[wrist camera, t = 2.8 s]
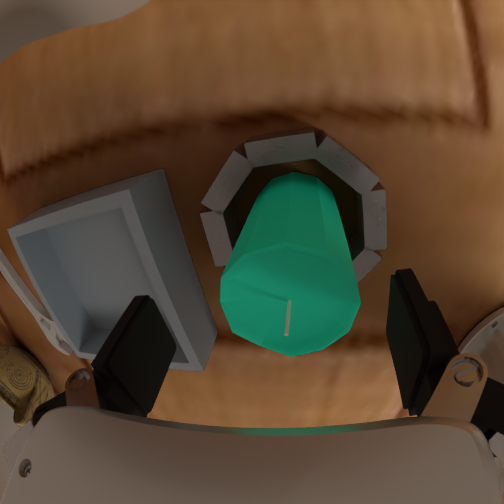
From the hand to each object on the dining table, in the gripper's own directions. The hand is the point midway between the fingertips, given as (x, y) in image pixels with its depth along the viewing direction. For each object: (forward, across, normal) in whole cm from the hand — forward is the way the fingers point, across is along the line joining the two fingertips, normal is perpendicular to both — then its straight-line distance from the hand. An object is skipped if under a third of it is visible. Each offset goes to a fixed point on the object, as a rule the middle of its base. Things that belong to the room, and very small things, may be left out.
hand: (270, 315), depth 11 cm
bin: (+12, +16, +4) cm, 20 cm away
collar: (+11, -1, +1) cm, 11 cm away
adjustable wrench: (+13, +36, +4) cm, 38 cm away
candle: (+12, -1, +1) cm, 12 cm away
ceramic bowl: (+12, +52, +23) cm, 58 cm away
